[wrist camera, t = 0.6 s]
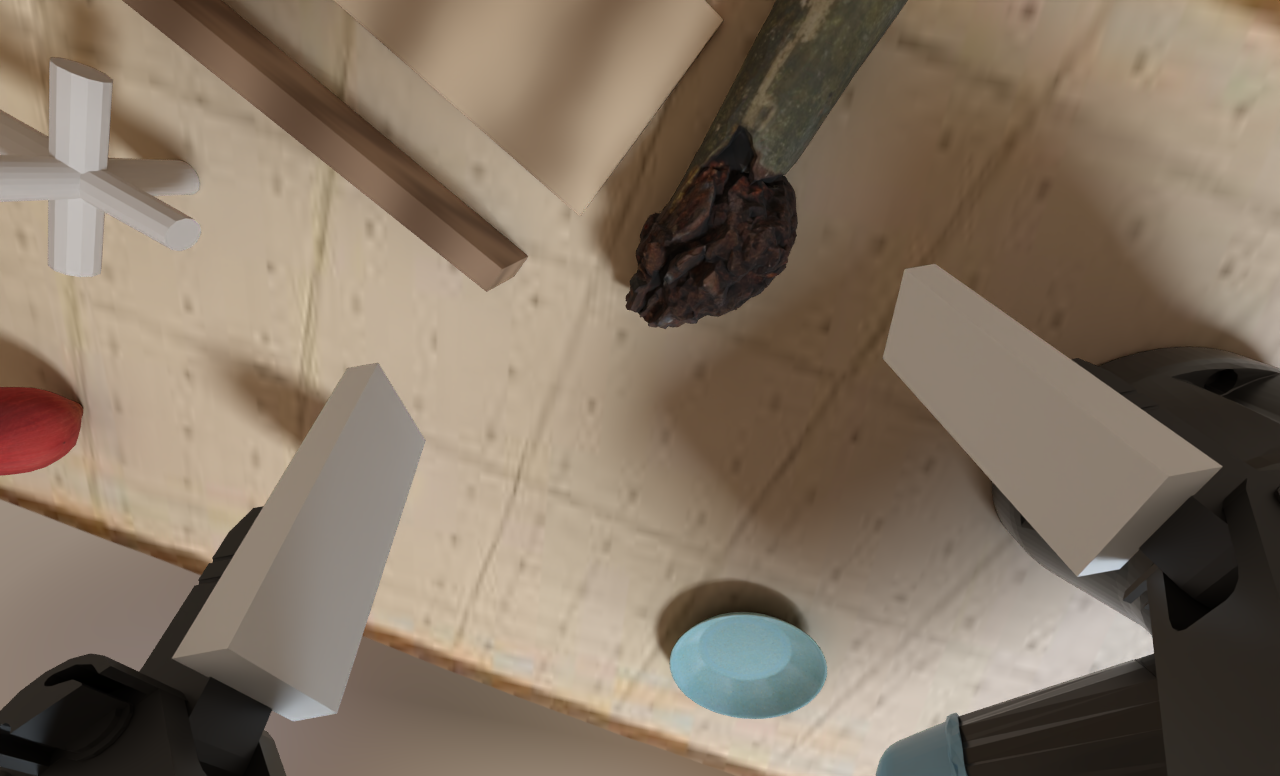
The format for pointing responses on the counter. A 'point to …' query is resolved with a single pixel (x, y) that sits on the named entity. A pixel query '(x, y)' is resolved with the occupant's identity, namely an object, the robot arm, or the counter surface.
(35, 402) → the onion
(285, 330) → the counter surface
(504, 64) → the mat
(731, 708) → the saucer
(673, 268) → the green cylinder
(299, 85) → the corner wall
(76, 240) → the pipe connector
